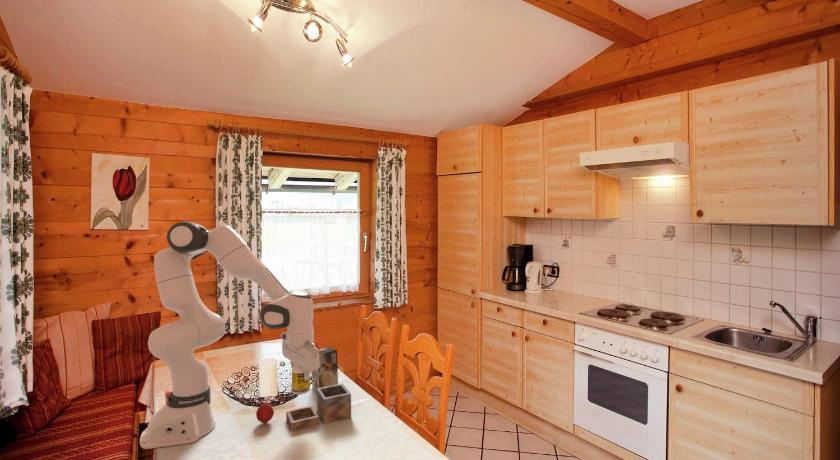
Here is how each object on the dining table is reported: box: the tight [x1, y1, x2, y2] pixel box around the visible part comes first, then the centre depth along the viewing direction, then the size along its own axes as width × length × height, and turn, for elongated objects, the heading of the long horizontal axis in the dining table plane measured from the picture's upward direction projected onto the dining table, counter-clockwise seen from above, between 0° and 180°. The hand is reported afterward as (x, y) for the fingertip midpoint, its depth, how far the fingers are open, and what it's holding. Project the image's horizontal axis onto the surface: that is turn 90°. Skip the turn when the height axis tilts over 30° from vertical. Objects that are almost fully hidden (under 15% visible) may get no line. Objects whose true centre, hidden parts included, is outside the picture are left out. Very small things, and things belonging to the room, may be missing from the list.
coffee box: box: [311, 346, 339, 391], centre depth 187 cm, size 9×6×16 cm
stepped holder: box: [285, 383, 352, 432], centre depth 161 cm, size 21×10×9 cm, turn 117°
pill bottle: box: [291, 362, 311, 396], centre depth 157 cm, size 6×6×11 cm
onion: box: [255, 401, 275, 424], centre depth 157 cm, size 6×6×8 cm
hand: (300, 375), depth 157 cm, fingers closed on pill bottle, 6 cm apart
